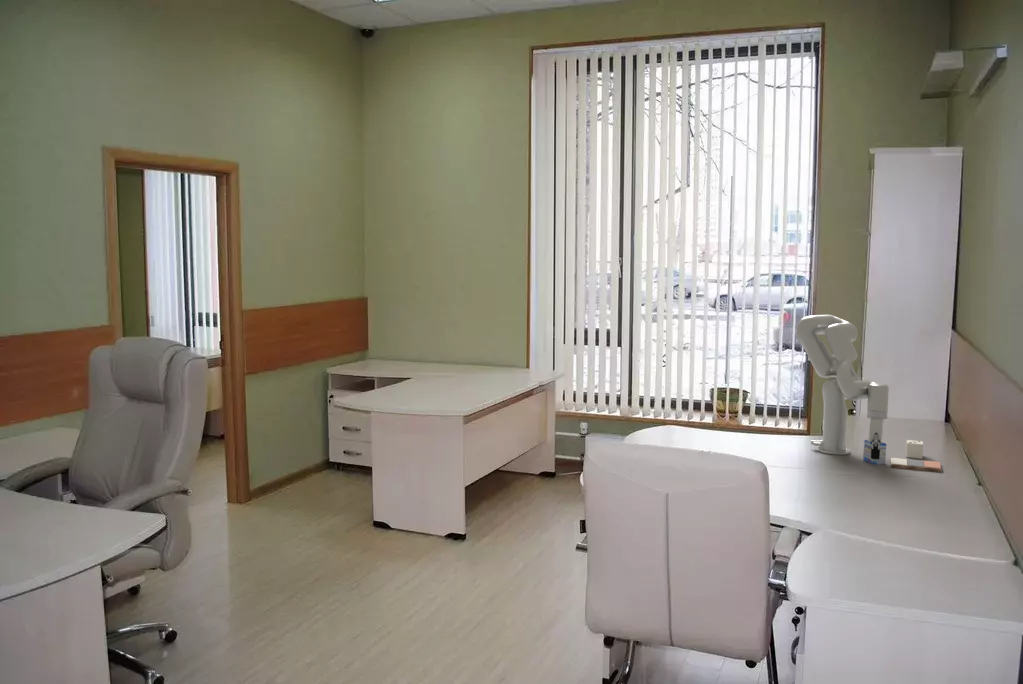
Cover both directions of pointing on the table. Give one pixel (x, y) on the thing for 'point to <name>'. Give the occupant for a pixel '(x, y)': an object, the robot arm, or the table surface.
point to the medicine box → (868, 453)
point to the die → (914, 449)
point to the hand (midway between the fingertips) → (875, 456)
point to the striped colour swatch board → (915, 464)
